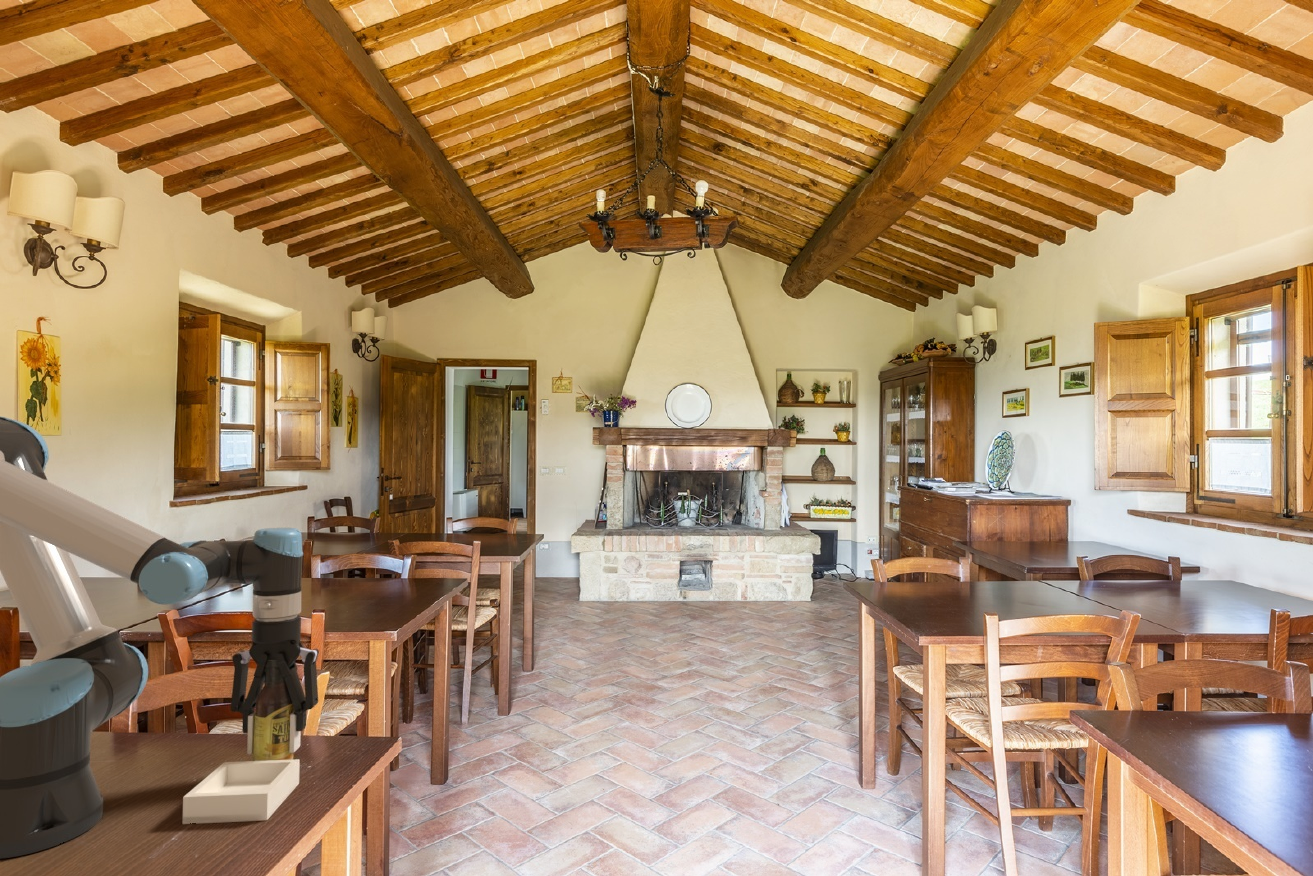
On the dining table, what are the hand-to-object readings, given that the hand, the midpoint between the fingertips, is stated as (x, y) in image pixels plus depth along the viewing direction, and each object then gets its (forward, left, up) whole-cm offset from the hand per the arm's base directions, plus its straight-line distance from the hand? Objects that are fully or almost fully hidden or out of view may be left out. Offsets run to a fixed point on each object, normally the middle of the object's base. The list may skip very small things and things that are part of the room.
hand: (274, 749), depth 121 cm
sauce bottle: (0, 0, -4) cm, 4 cm away
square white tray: (0, -10, -4) cm, 11 cm away
